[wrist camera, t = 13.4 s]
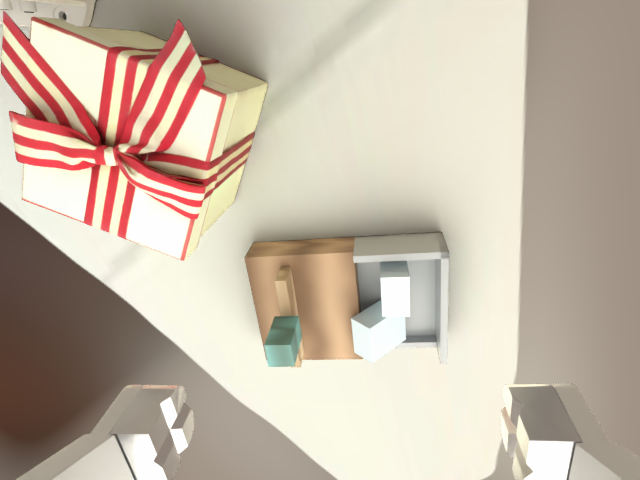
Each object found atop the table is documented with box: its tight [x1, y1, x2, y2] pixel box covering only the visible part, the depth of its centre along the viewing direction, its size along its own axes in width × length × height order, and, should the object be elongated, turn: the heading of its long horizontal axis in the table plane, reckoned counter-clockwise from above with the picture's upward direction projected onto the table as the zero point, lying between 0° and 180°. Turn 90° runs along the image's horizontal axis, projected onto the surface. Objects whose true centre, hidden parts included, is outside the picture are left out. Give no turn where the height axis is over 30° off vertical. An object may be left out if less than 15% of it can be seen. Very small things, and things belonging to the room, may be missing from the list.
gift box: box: [1, 11, 268, 261], centre depth 37 cm, size 17×18×17 cm
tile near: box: [380, 260, 410, 317], centre depth 47 cm, size 6×5×3 cm
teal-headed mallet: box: [264, 267, 304, 367], centre depth 46 cm, size 3×12×8 cm, turn 6°
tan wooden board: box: [245, 237, 363, 360], centre depth 52 cm, size 12×15×4 cm
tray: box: [353, 232, 449, 364], centre depth 49 cm, size 10×15×5 cm, turn 7°
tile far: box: [351, 300, 406, 364], centre depth 50 cm, size 6×5×3 cm
